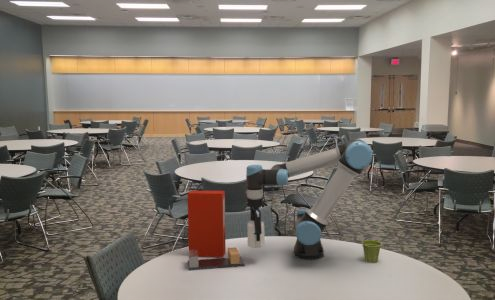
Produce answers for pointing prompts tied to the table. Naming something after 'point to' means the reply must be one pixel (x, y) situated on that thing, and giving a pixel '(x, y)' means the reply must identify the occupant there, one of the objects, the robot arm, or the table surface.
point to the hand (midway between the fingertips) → (256, 244)
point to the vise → (210, 262)
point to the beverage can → (252, 237)
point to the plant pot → (371, 250)
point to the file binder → (207, 223)
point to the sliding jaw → (233, 255)
